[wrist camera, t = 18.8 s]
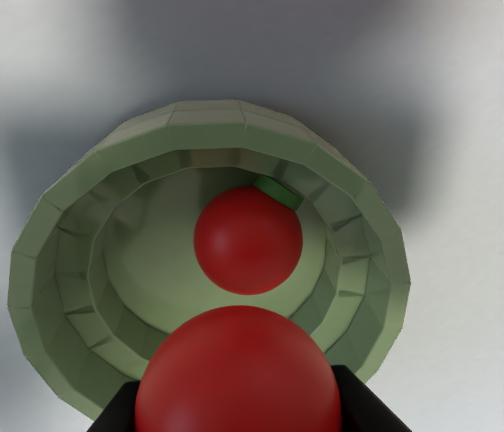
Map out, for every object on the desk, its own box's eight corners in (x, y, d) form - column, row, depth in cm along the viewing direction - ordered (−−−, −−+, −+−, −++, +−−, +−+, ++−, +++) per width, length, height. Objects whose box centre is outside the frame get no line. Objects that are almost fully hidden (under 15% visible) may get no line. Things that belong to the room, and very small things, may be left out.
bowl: (92, 372, 22) (59, 461, 17) (23, 102, 16) (-55, 130, 11) (349, 353, 23) (382, 432, 18) (381, 93, 17) (444, 116, 12)
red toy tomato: (210, 417, 12) (209, 642, 7) (114, 321, 10) (37, 544, 6) (341, 351, 11) (423, 558, 7) (263, 237, 9) (306, 416, 5)
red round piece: (221, 318, 13) (299, 197, 12) (152, 247, 15) (215, 142, 15) (282, 318, 17) (345, 224, 16) (218, 260, 19) (271, 177, 19)
